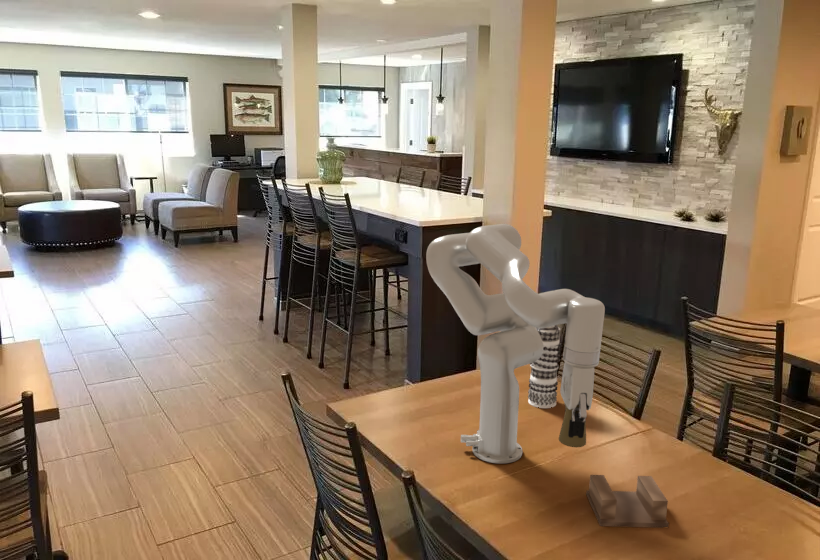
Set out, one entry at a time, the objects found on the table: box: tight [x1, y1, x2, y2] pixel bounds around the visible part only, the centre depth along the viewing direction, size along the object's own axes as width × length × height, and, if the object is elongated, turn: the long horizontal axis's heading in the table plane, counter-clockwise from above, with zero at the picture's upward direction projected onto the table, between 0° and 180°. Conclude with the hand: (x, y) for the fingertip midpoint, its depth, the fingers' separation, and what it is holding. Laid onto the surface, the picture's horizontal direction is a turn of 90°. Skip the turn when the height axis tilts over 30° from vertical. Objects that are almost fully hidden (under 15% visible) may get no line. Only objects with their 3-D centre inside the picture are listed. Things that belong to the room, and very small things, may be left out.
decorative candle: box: [527, 324, 563, 409], centre depth 193 cm, size 9×9×25 cm
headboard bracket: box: [585, 474, 670, 528], centre depth 139 cm, size 14×12×6 cm
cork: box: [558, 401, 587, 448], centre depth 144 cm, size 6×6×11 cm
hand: (573, 431), depth 145 cm, fingers closed on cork, 4 cm apart
